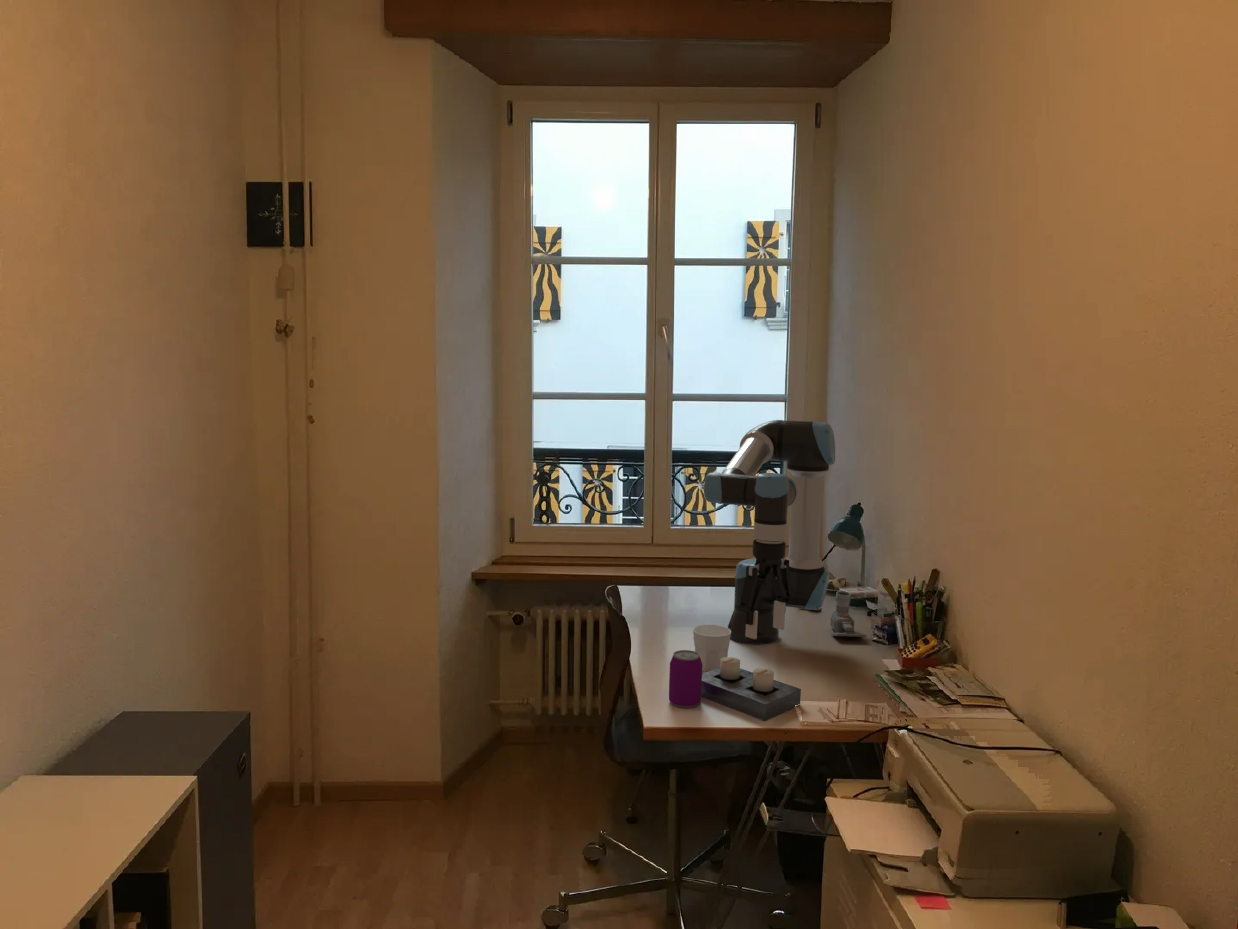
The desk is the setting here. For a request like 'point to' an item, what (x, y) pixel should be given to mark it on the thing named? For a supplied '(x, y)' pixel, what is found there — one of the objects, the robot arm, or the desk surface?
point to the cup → (711, 644)
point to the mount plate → (749, 694)
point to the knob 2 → (763, 679)
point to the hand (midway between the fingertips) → (765, 632)
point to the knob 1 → (729, 668)
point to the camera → (843, 617)
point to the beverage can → (685, 679)
